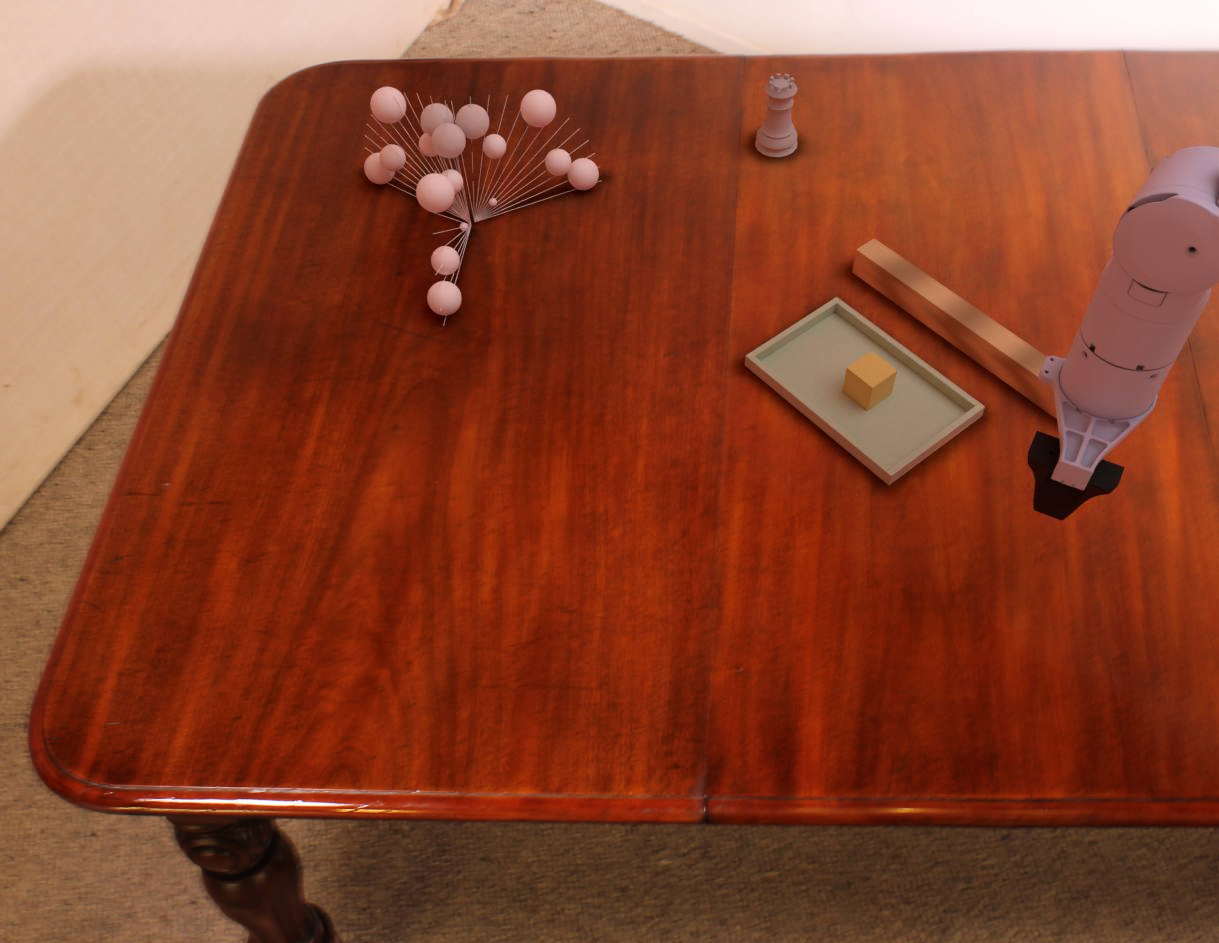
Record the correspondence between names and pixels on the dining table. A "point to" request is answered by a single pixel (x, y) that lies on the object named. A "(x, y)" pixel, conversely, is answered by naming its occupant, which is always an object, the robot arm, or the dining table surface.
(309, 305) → the dining table surface
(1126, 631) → the dining table surface
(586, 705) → the dining table surface
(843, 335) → the dish
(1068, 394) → the robot arm
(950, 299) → the stick
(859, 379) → the cheese cube
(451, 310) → the decorative flower
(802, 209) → the dining table surface
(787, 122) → the rook chess piece
